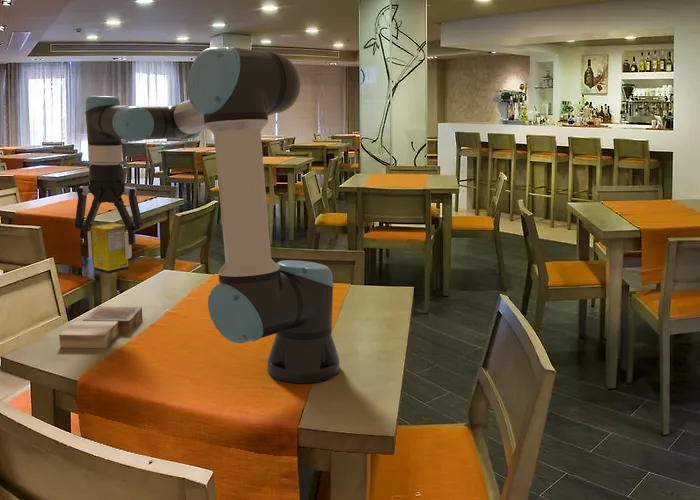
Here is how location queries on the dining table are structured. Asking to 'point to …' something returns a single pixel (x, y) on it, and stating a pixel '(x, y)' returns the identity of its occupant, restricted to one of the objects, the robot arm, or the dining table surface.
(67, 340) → the oak stand
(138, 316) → the walnut stand
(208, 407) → the dining table surface
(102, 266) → the supplement box
